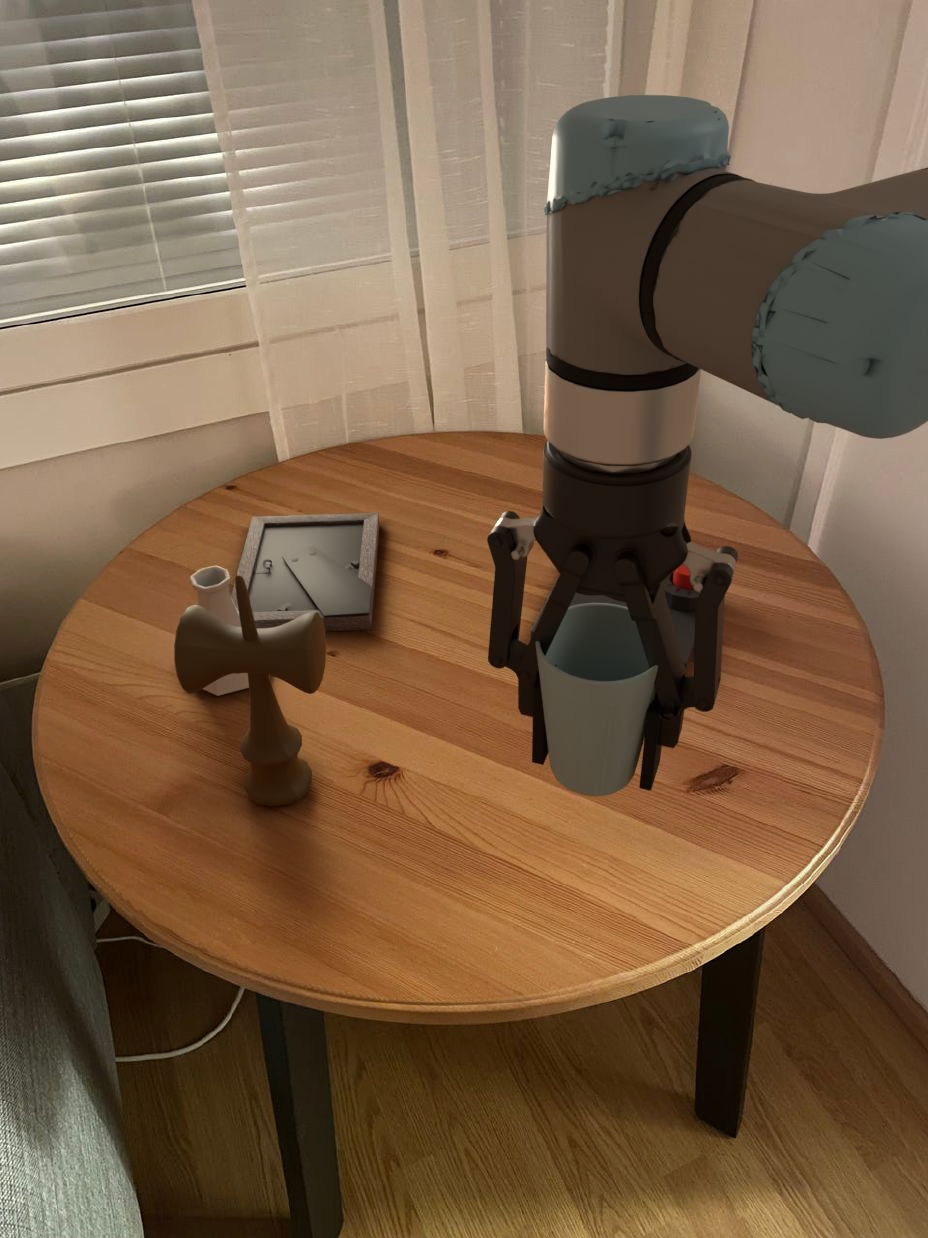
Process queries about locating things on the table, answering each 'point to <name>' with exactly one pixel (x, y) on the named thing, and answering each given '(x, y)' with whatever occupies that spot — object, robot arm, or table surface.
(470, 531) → the table surface
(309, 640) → the kendama
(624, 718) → the cup
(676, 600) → the scale
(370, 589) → the picture frame
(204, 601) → the flask
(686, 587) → the button
